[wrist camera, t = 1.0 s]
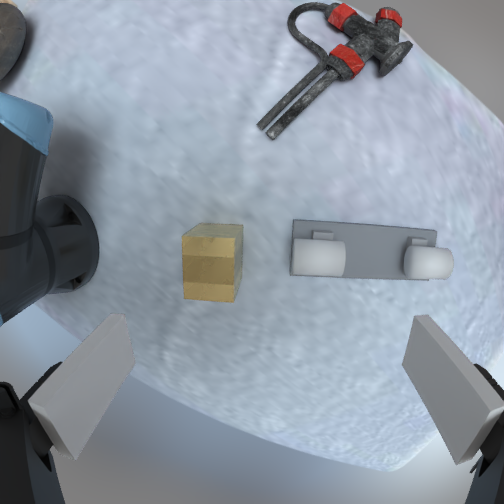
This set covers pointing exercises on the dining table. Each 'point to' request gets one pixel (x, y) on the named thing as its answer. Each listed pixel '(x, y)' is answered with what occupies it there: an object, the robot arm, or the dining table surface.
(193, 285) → the cardboard box
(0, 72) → the bowl
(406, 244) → the shaft bed
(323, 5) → the valve
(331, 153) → the dining table surface
